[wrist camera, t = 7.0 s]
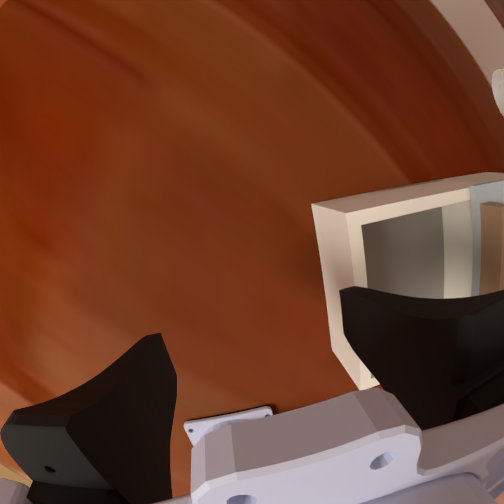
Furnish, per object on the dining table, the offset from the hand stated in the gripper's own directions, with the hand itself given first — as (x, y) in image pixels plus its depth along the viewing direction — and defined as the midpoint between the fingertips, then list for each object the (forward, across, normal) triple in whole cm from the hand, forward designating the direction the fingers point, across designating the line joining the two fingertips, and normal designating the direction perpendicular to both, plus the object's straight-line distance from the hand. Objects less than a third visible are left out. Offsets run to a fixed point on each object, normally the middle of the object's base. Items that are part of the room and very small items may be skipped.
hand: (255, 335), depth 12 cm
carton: (+10, -16, +3) cm, 19 cm away
